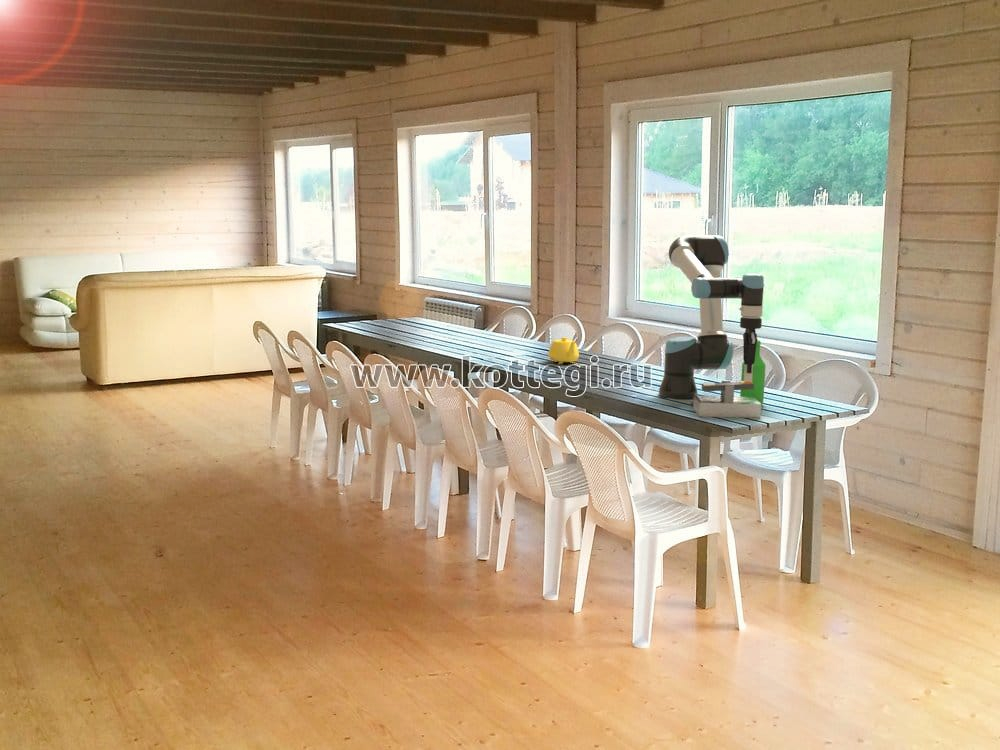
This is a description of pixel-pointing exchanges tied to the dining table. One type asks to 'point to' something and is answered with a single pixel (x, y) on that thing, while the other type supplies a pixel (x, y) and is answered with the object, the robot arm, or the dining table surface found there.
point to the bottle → (756, 377)
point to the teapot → (563, 350)
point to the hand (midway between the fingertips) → (747, 381)
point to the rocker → (721, 386)
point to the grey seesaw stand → (726, 405)
